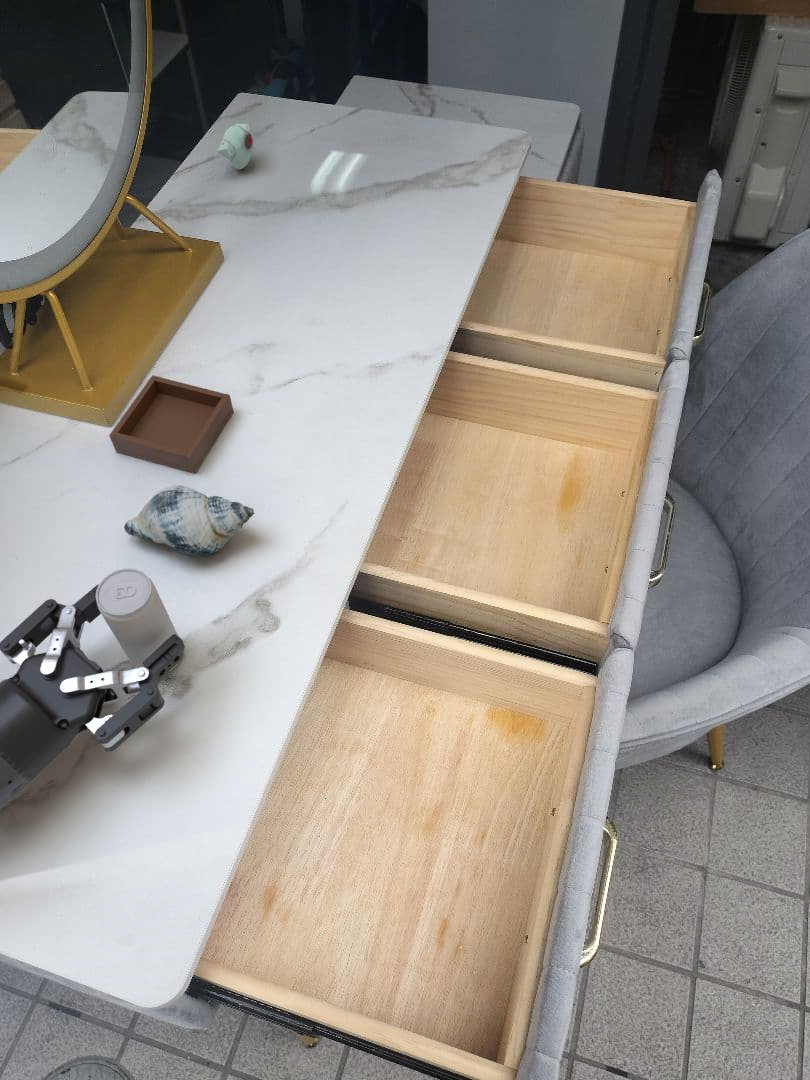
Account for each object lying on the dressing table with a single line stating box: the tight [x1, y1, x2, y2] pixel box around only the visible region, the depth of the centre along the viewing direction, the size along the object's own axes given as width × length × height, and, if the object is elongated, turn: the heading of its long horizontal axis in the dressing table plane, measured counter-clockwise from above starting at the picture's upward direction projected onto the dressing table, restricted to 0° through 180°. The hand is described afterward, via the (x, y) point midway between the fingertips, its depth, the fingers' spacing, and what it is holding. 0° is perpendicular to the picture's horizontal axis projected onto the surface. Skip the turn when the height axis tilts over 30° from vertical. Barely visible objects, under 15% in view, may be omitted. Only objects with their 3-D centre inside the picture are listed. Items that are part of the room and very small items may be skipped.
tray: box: [108, 375, 234, 474], centre depth 92 cm, size 10×10×3 cm
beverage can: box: [96, 567, 180, 672], centre depth 72 cm, size 5×5×12 cm
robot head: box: [216, 122, 254, 171], centre depth 121 cm, size 8×4×7 cm, turn 159°
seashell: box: [123, 484, 255, 557], centre depth 83 cm, size 6×8×12 cm
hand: (147, 613), depth 72 cm, fingers open, 8 cm apart
